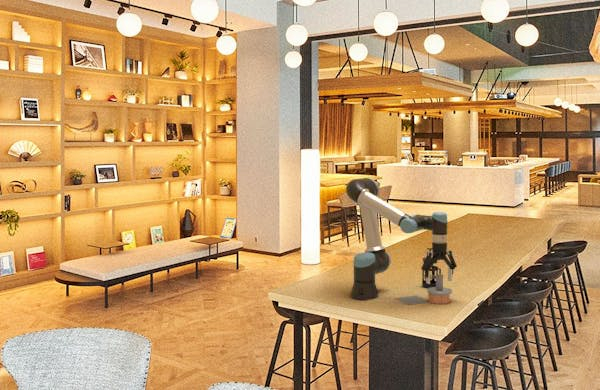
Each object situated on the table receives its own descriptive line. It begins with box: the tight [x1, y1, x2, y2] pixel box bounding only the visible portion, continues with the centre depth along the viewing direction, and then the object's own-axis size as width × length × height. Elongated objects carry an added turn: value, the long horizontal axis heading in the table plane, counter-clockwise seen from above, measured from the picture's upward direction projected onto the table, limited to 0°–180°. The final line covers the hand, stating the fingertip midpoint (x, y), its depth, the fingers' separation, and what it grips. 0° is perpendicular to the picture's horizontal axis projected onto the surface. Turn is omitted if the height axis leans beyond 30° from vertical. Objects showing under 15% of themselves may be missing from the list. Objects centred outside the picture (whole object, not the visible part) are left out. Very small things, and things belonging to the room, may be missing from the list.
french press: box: [421, 247, 442, 289], centre depth 322 cm, size 12×9×23 cm
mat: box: [393, 295, 431, 306], centre depth 296 cm, size 14×14×1 cm
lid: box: [426, 273, 453, 295], centre depth 293 cm, size 13×13×9 cm
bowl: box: [427, 292, 451, 305], centre depth 293 cm, size 10×10×5 cm
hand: (439, 282), depth 293 cm, fingers open, 13 cm apart
